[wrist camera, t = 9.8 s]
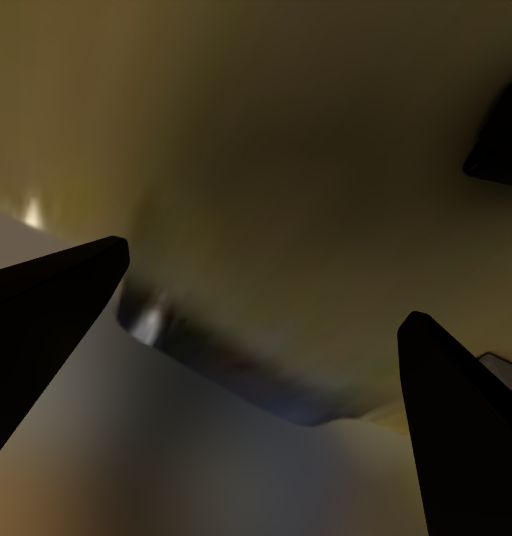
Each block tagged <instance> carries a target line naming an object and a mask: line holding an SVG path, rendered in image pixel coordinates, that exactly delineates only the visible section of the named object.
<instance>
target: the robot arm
mask: <svg viewBox="0 0 512 536" xmlns="http://www.w3.org/2000/svg"><path fill="white" fill-rule="evenodd" d="M475 164H478V166H477V168H476V169H474V170H471V167H472V166H473V165H475ZM463 171H464V173H465V174H466V175H468V176H470V177H474V178H479V179H484V180H489V181H494V182H499V183H503V184H508V185H512V83H511V84H509V86H508V87H507V89H506V91H505V92H504V94H503V96H502V97H501V99H500V101H499V102H498V104H497V106H496V107H495V109H494V111H493V112H492V114H491V116H490V117H489V119H488V121H487V122H486V124H485V126H484V127H483V129H482V131H481V132H480V134H479V141H478V142H477V144H476V146H475V147H474V149H473V151H472V152H471V154H470V156H469V157H468V159H467V161H466V162H465V164H464V166H463ZM129 263H130V257H129V248H128V242H127V240H126V239H125V238H121V237H117V236H109V237H106V238H103V239H99V240H96V241H93V242H89V243H86V244H83V245H79V246H76V247H73V248H69V249H66V250H63V251H59V252H56V253H53V254H49V255H46V256H43V257H39V258H36V259H33V260H29V261H26V262H23V263H19V264H16V265H13V266H9V267H6V268H3V269H0V450H1V449H2V447H3V446H4V445H5V443H6V442H7V440H8V439H9V438H10V436H11V435H12V434H13V432H14V431H15V430H16V428H17V427H18V425H19V424H20V423H21V421H22V420H23V419H24V417H25V416H26V415H27V413H28V412H29V410H30V409H31V408H32V406H33V405H34V404H35V402H36V401H37V400H38V398H39V397H40V395H41V394H42V393H43V391H44V390H45V389H46V387H47V386H48V385H49V383H50V382H51V380H52V379H53V378H54V376H55V375H56V374H57V372H58V371H59V369H60V368H61V367H62V365H63V364H64V363H65V361H66V360H67V359H68V357H69V356H70V354H71V353H72V352H73V350H74V349H75V348H76V346H77V345H78V343H79V342H80V341H81V340H82V338H83V337H84V335H85V334H86V333H87V331H88V330H89V329H90V327H91V326H92V325H93V323H94V321H95V320H96V319H97V318H98V316H99V315H100V314H101V312H102V311H103V309H104V308H105V307H106V305H107V303H108V302H109V300H110V298H111V297H112V295H113V293H114V291H115V290H116V288H117V286H118V284H119V283H120V281H121V279H122V277H123V276H124V274H125V272H126V270H127V269H128V267H129ZM397 339H398V354H399V369H400V380H401V387H402V392H403V398H404V403H405V409H406V414H407V420H408V425H409V431H410V436H411V442H412V447H413V453H414V458H415V464H416V469H417V475H418V480H419V485H420V491H421V496H422V502H423V507H424V513H425V518H426V523H427V529H428V534H429V536H512V390H511V389H509V388H508V387H507V386H506V385H505V384H504V383H503V382H502V381H501V380H500V379H499V378H497V377H496V376H495V375H494V374H493V373H492V372H491V371H490V370H489V369H488V368H487V367H485V366H484V365H483V364H482V363H481V362H480V361H479V360H478V359H477V358H476V357H474V356H473V355H472V354H471V353H470V352H469V351H468V350H467V349H466V348H465V347H464V346H462V345H461V344H460V343H459V342H458V341H457V340H456V339H455V338H454V337H453V336H452V335H450V334H449V333H448V332H447V331H446V330H445V329H444V328H443V327H442V326H441V325H440V324H438V323H437V322H436V321H435V320H434V319H433V318H432V317H431V316H430V315H428V314H426V313H422V312H418V311H413V312H411V313H410V314H409V315H408V317H407V318H406V319H405V321H404V322H403V323H402V324H401V326H400V327H399V329H398V333H397Z"/></svg>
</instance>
